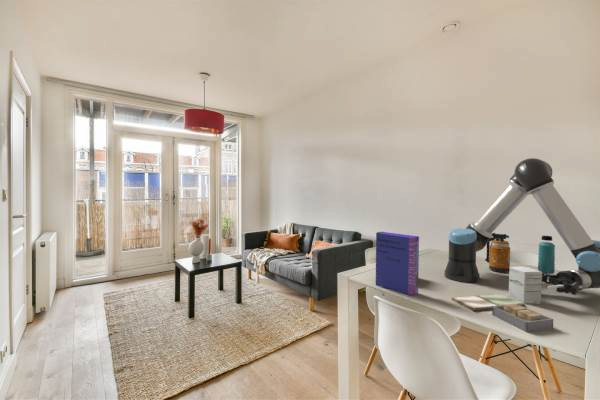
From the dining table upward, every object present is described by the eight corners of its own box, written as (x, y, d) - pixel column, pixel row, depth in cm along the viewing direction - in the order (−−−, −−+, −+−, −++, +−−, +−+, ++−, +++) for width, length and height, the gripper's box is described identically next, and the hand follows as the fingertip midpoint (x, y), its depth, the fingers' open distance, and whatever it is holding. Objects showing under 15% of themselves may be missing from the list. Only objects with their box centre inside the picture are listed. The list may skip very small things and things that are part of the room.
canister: (510, 274, 146) (511, 235, 146) (484, 270, 152) (485, 233, 151) (508, 269, 154) (509, 232, 153) (484, 266, 160) (485, 231, 159)
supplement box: (507, 297, 115) (508, 266, 114) (524, 296, 116) (525, 266, 115) (523, 305, 108) (524, 271, 107) (541, 304, 108) (542, 271, 108)
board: (451, 300, 111) (451, 297, 111) (498, 296, 116) (498, 293, 116) (474, 313, 101) (474, 308, 100) (525, 307, 105) (525, 303, 105)
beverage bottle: (557, 277, 141) (559, 237, 140) (542, 276, 142) (543, 236, 142) (549, 273, 147) (550, 235, 147) (534, 272, 149) (535, 234, 148)
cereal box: (418, 293, 120) (419, 236, 119) (412, 296, 116) (413, 237, 115) (381, 282, 133) (382, 231, 132) (375, 285, 129) (376, 232, 128)
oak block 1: (503, 316, 97) (503, 304, 97) (513, 315, 98) (513, 303, 98) (514, 321, 93) (515, 309, 93) (524, 320, 94) (525, 308, 94)
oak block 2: (517, 322, 92) (517, 310, 92) (527, 321, 93) (528, 309, 93) (529, 328, 88) (530, 316, 88) (540, 327, 89) (540, 314, 89)
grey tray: (492, 316, 98) (492, 306, 98) (516, 313, 100) (516, 303, 100) (526, 333, 86) (526, 322, 86) (553, 330, 88) (553, 319, 88)
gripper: (611, 301, 103) (565, 306, 99) (540, 279, 128) (500, 282, 123) (612, 280, 103) (566, 284, 99) (540, 263, 128) (501, 265, 123)
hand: (529, 283), depth 111 cm, fingers open, 13 cm apart
